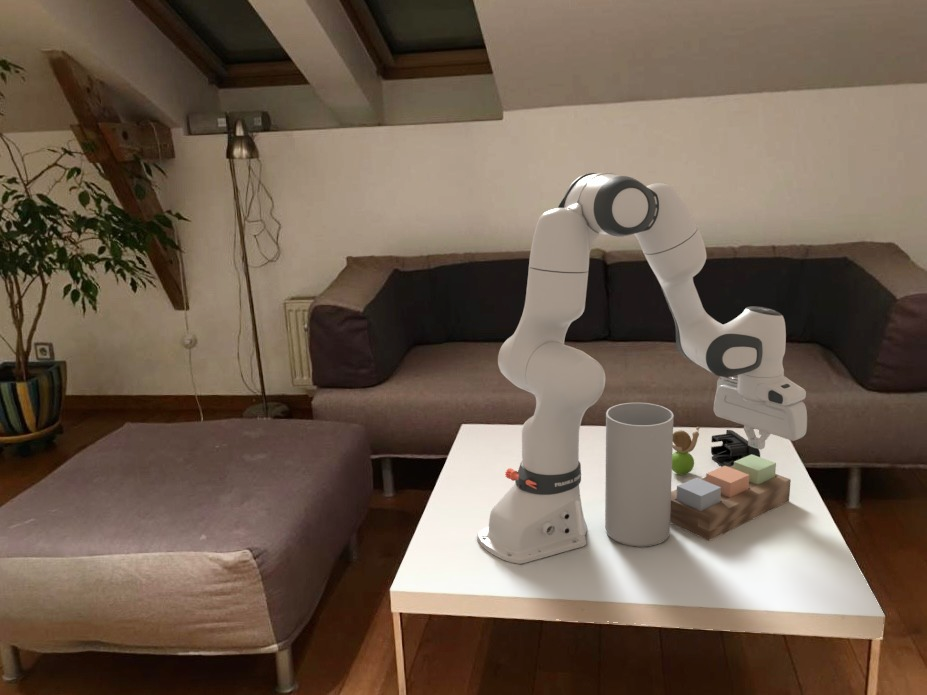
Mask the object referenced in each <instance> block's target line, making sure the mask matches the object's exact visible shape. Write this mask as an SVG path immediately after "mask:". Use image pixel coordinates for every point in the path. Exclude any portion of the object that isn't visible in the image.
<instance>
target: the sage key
mask: <svg viewBox="0 0 927 695" xmlns="http://www.w3.org/2000/svg"><path fill="white" fill-rule="evenodd" d="M776 467H777V463H776V462H774V461H771V460H769V459H765V458H763V457H761V456H760V457H758V456H755V455H752V454H751V455H749V456H746V457H744V458H742V459H739V460H737V461H735V462H734V469H735V470H738V471H741V472H743V473H746V474H749V482H751V483H754V484H757V485H759V484H761V483H763V482H766V481H768V480H770V479H772V478H774V477H775V474H776V473H777V472H776V470H777V469H776Z"/></svg>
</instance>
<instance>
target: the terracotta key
mask: <svg viewBox="0 0 927 695" xmlns="http://www.w3.org/2000/svg"><path fill="white" fill-rule="evenodd" d="M705 477H706V482H709V483H711V484H714V485H716V486H719V487H721V494H722V495H725V496H727V497H730V498H731V497H733V496H735V495H737V494H740V493H742V492H744V491H746V490H748V489H749V474H746V473H743V472H741V471H738V470H735V469H733V468H730V467H727V466H723V467H721V466H719V467H717V468H716V469H714V470H711V471H708V472H707V473H706V474H705Z"/></svg>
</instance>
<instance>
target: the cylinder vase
mask: <svg viewBox="0 0 927 695" xmlns="http://www.w3.org/2000/svg"><path fill="white" fill-rule="evenodd" d="M674 417H675V416H674V413H673V411H672V410H670V409H669V408H667V407H665V406H662V405H660V404H655V403H648V402H625V403H619V404H616V405H613V406H611V407H609V408H608V409H607V410H606V412H605V492H604V493H605V500H604V502H605V503H604V504H605V506H604V508H605V510H604V511H605V512H604V513H605V514H604V515H605V516H604V517H605V518H604V523H605V524H604V528H605V529H604V530H605V532H606V534H607V536H609V537H610V538H611V539H612V540H614V541H615V542H617V543H620V544H623V545H626V546H631V547H640V548H642V547H650V546H651V547H652V546H656V545H658V544H660V543H661V544H662V543H663V542H664V541H665V540H666V539H667V538H668V537H669V536H670V533H671V523H670V510H671V492H672V474H673V470H672V454H673V449H674V448H673V445H674V443H673V434H674Z"/></svg>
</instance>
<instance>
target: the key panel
mask: <svg viewBox="0 0 927 695" xmlns="http://www.w3.org/2000/svg"><path fill="white" fill-rule="evenodd" d="M730 468H733V469H734V465H733V466H730ZM701 479H702V480H704V481H706V476H705V477H703V478H701ZM791 482H792V479H791V478H787V477H785V476H782V475H779V474H777V473H775V477H774V478H772V479H770V480H768V481H766V482H763V483H761V484H759V485H757V484H754V483H751V482H749V489H748V490H746V491H744V492H742V493H740V494H737V495H735V496H733V497H731V498H730V497H727V496H725V495H722V494H721V498H720V503H718V504H716V505H713V506H711V507H709V508H707V509H705V510H702V511H699V510H697V509H695V508H692V507H690V506H688V505H686V504H683V503H681V502H679V501H677V500H676V496H677V488H676V489H674V490H671V510H670V524H672V525H675V526H677V527H679V528H680V529H683V530H684V531H687V532H689V533H691V534H693V535H696V536H697V537H700V538H701V539H704V540H706V541H708V542H709V541H712V540H714V539H715V538H717V537H720V536H721V535H724V534H726V533H727V532H730V531H732V530H733V529H736V528H738V527H740V526H742V525H743V524H744V525H745V523H747V522H750V521H751V520H755V519H756V518H758V517H760V516H762V515H764V514H766V513H768V512H771V511H772V510H774V509H776V508H778V507H780V506H782V505H785V504H786V503H788V502H789V501H790V494H791Z"/></svg>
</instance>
